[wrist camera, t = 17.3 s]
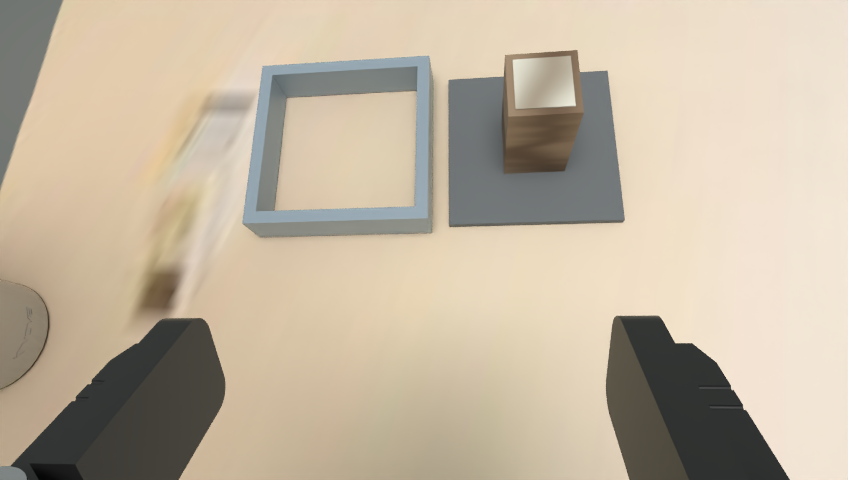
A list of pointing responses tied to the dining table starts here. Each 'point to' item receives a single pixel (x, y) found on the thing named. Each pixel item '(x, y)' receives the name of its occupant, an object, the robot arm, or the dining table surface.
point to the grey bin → (336, 82)
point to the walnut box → (540, 111)
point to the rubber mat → (530, 192)
